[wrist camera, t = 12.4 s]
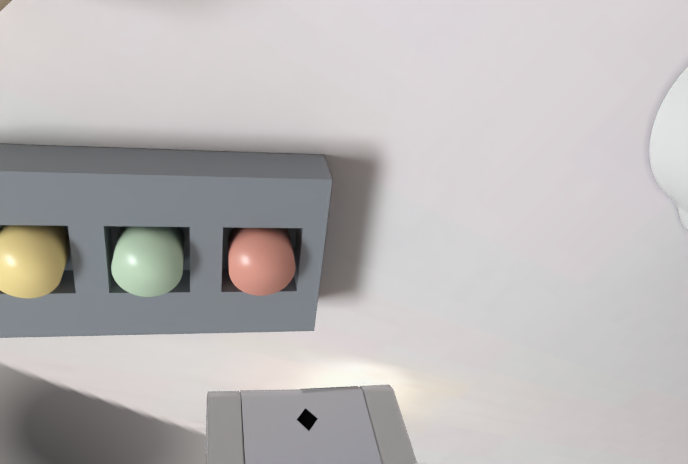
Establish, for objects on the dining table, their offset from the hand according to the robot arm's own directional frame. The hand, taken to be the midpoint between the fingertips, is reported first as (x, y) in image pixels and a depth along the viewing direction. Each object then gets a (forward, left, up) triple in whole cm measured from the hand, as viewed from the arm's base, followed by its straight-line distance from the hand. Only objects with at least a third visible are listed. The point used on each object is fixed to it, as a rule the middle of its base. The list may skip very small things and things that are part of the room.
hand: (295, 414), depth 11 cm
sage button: (+5, +16, -30) cm, 34 cm away
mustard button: (+12, +16, -30) cm, 36 cm away
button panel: (+5, +16, -31) cm, 35 cm away
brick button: (-2, +16, -30) cm, 34 cm away
